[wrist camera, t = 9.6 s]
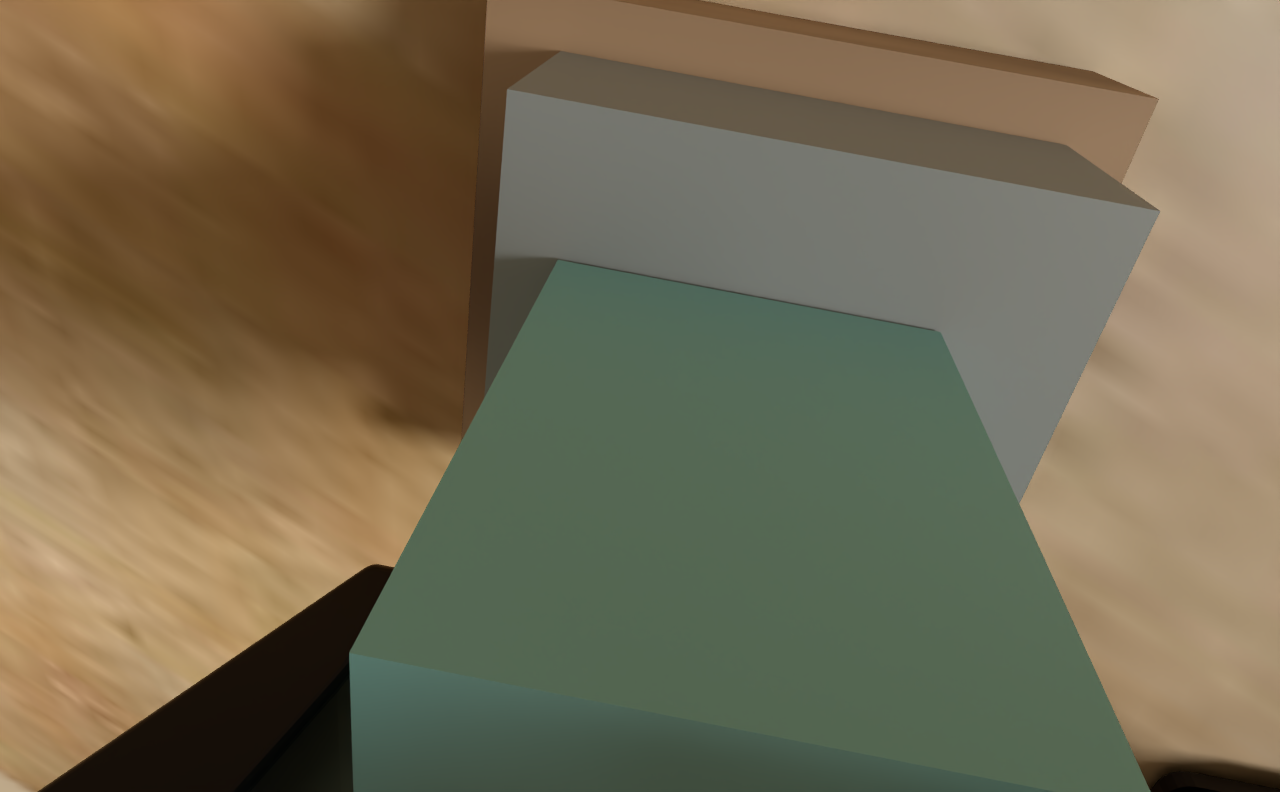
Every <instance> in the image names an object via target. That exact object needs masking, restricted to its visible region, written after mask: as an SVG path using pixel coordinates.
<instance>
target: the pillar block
mask: <svg viewBox="0 0 1280 792" xmlns="http://www.w3.org/2000/svg"><path fill="white" fill-rule="evenodd" d="M349 664H350V697H351V730H352V763H353V792H1150V789H1149V787H1148V785H1147V783H1146V781H1145V778H1144V776H1143V774H1142V772H1141V770H1140V767H1139V765H1138V763H1137V761H1136V759H1135V756H1134V754H1133V752H1132V750H1131V748H1130V746H1129V743H1128V741H1127V739H1126V737H1125V735H1124V732H1123V730H1122V728H1121V726H1120V724H1119V721H1118V719H1117V717H1116V715H1115V713H1114V710H1113V708H1112V706H1111V704H1110V702H1109V700H1108V697H1107V695H1106V693H1105V691H1104V689H1103V686H1102V684H1101V682H1100V680H1099V678H1098V675H1097V673H1096V671H1095V669H1094V667H1093V665H1092V662H1091V660H1090V658H1089V656H1088V654H1087V651H1086V649H1085V647H1084V645H1083V643H1082V640H1081V638H1080V636H1079V634H1078V632H1077V629H1076V627H1075V625H1074V623H1073V621H1072V619H1071V616H1070V614H1069V612H1068V610H1067V608H1066V605H1065V603H1064V601H1063V599H1062V597H1061V594H1060V592H1059V590H1058V588H1057V586H1056V584H1055V581H1054V579H1053V577H1052V575H1051V573H1050V570H1049V568H1048V566H1047V564H1046V562H1045V559H1044V557H1043V555H1042V553H1041V551H1040V548H1039V546H1038V544H1037V542H1036V540H1035V538H1034V535H1033V533H1032V531H1031V529H1030V527H1029V524H1028V522H1027V520H1026V518H1025V516H1024V513H1023V511H1022V509H1021V507H1020V505H1019V502H1018V500H1017V498H1016V496H1015V494H1014V492H1013V489H1012V487H1011V485H1010V483H1009V481H1008V478H1007V476H1006V474H1005V472H1004V470H1003V467H1002V465H1001V463H1000V461H999V459H998V457H997V454H996V452H995V450H994V448H993V446H992V443H991V441H990V439H989V437H988V435H987V432H986V430H985V428H984V426H983V424H982V421H981V419H980V417H979V415H978V413H977V411H976V408H975V406H974V404H973V402H972V400H971V397H970V395H969V393H968V391H967V389H966V386H965V384H964V382H963V380H962V378H961V375H960V373H959V371H958V369H957V367H956V365H955V362H954V360H953V358H952V356H951V354H950V351H949V349H948V347H947V345H946V343H945V340H944V338H943V336H942V334H941V332H937V331H932V330H927V329H921V328H916V327H911V326H906V325H900V324H895V323H890V322H884V321H879V320H874V319H869V318H863V317H858V316H853V315H848V314H842V313H837V312H832V311H826V310H821V309H816V308H811V307H805V306H800V305H795V304H789V303H784V302H779V301H774V300H768V299H763V298H758V297H752V296H747V295H742V294H737V293H731V292H726V291H721V290H715V289H710V288H705V287H700V286H694V285H689V284H684V283H678V282H673V281H668V280H663V279H657V278H652V277H647V276H641V275H636V274H631V273H626V272H620V271H615V270H610V269H604V268H599V267H594V266H589V265H583V264H578V263H573V262H567V261H562V260H557V262H556V264H555V266H554V268H553V270H552V272H551V273H550V275H549V277H548V279H547V281H546V283H545V285H544V287H543V289H542V290H541V292H540V294H539V296H538V298H537V300H536V302H535V304H534V306H533V307H532V309H531V311H530V313H529V315H528V317H527V319H526V321H525V322H524V324H523V326H522V328H521V330H520V332H519V334H518V336H517V338H516V339H515V341H514V343H513V345H512V347H511V349H510V351H509V353H508V355H507V356H506V358H505V360H504V362H503V364H502V366H501V368H500V370H499V371H498V373H497V375H496V377H495V379H494V381H493V383H492V385H491V387H490V388H489V390H488V392H487V394H486V396H485V398H484V400H483V402H482V404H481V405H480V407H479V409H478V411H477V413H476V415H475V417H474V419H473V420H472V422H471V424H470V426H469V428H468V430H467V432H466V434H465V436H464V437H463V439H462V441H461V443H460V445H459V447H458V449H457V451H456V453H455V454H454V456H453V458H452V460H451V462H450V464H449V466H448V468H447V469H446V471H445V473H444V475H443V477H442V479H441V481H440V483H439V485H438V486H437V488H436V490H435V492H434V494H433V496H432V498H431V500H430V502H429V503H428V505H427V507H426V509H425V511H424V513H423V515H422V517H421V518H420V520H419V522H418V524H417V526H416V528H415V530H414V532H413V534H412V535H411V537H410V539H409V541H408V543H407V545H406V547H405V549H404V551H403V552H402V554H401V556H400V558H399V560H398V562H397V564H396V566H395V567H394V569H393V571H392V573H391V575H390V577H389V579H388V581H387V583H386V584H385V586H384V588H383V590H382V592H381V594H380V596H379V598H378V600H377V601H376V603H375V605H374V607H373V609H372V611H371V613H370V615H369V616H368V618H367V620H366V622H365V624H364V626H363V628H362V630H361V632H360V633H359V635H358V637H357V639H356V641H355V643H354V645H353V647H352V649H351V650H350V652H349Z"/></svg>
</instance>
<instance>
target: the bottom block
mask: <svg viewBox="0 0 1280 792" xmlns="http://www.w3.org/2000/svg"><path fill="white" fill-rule="evenodd" d="M560 51H564V52H569V53H574V54H580V55H585V56H591V57H596V58H601V59H607V60H612V61H617V62H623V63H628V64H634V65H639V66H644V67H650V68H655V69H660V70H666V71H671V72H677V73H682V74H687V75H693V76H698V77H703V78H709V79H714V80H720V81H725V82H730V83H736V84H741V85H746V86H752V87H757V88H763V89H768V90H773V91H779V92H784V93H789V94H795V95H800V96H806V97H811V98H816V99H822V100H827V101H833V102H838V103H843V104H849V105H854V106H859V107H865V108H870V109H876V110H881V111H886V112H892V113H897V114H902V115H908V116H913V117H919V118H924V119H929V120H935V121H940V122H945V123H951V124H956V125H962V126H967V127H972V128H978V129H983V130H988V131H994V132H999V133H1005V134H1010V135H1015V136H1021V137H1026V138H1031V139H1037V140H1042V141H1048V142H1053V143H1058V144H1064V145H1067V146H1069V147H1070V148H1071V149H1073V150H1074V151H1076V152H1077V153H1078V154H1080V155H1081V156H1083V157H1084V158H1086V159H1087V160H1088V161H1090V162H1091V163H1093V164H1094V165H1095V166H1097V167H1098V168H1100V169H1101V170H1103V171H1104V172H1105V173H1107V174H1108V175H1110V176H1111V177H1112V178H1114V179H1115V180H1117V181H1118V182H1120V183H1122V181H1123V179H1124V176H1125V174H1126V172H1127V170H1128V167H1129V165H1130V163H1131V161H1132V158H1133V156H1134V154H1135V152H1136V149H1137V147H1138V145H1139V143H1140V140H1141V138H1142V136H1143V134H1144V131H1145V129H1146V127H1147V125H1148V122H1149V120H1150V118H1151V116H1152V113H1153V111H1154V109H1155V107H1156V104H1157V102H1158V100H1159V99H1157V98H1155V97H1153V96H1150V95H1148V94H1145V93H1143V92H1141V91H1138V90H1136V89H1133V88H1131V87H1129V86H1126V85H1124V84H1122V83H1119V82H1117V81H1114V80H1112V79H1110V78H1107V77H1105V76H1102V75H1100V74H1098V73H1095V72H1093V71H1088V70H1082V69H1076V68H1071V67H1065V66H1060V65H1054V64H1049V63H1043V62H1038V61H1032V60H1027V59H1021V58H1016V57H1010V56H1005V55H999V54H994V53H988V52H982V51H977V50H971V49H966V48H960V47H955V46H949V45H944V44H938V43H933V42H927V41H922V40H916V39H911V38H905V37H899V36H894V35H888V34H883V33H877V32H872V31H866V30H861V29H855V28H850V27H844V26H839V25H833V24H828V23H822V22H816V21H811V20H805V19H800V18H794V17H789V16H783V15H778V14H772V13H767V12H761V11H756V10H750V9H745V8H739V7H733V6H728V5H722V4H717V3H711V2H706V1H700V0H487V12H486V29H485V47H484V64H483V81H482V98H481V115H480V132H479V149H478V166H477V183H476V200H475V217H474V235H473V252H472V269H471V286H470V303H469V320H468V337H467V354H466V371H465V388H464V406H463V423H462V439H463V437H464V436H465V434H466V432H467V430H468V428H469V426H470V424H471V422H472V420H473V419H474V417H475V415H476V413H477V411H478V409H479V407H480V405H481V404H482V402H483V400H484V393H485V380H486V366H487V353H488V340H489V326H490V313H491V299H492V286H493V272H494V259H495V246H496V232H497V219H498V205H499V192H500V179H501V165H502V152H503V138H504V125H505V111H506V98H507V89H508V88H509V87H511V86H512V85H514V84H515V83H516V82H518V81H519V80H521V79H522V78H523V77H525V76H526V75H528V74H529V73H530V72H532V71H533V70H535V69H536V68H538V67H539V66H540V65H542V64H543V63H545V62H546V61H547V60H549V59H550V58H552V57H553V56H554V55H556V54H557V53H559V52H560ZM461 441H462V440H461Z"/></svg>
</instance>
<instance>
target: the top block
mask: <svg viewBox="0 0 1280 792" xmlns="http://www.w3.org/2000/svg"><path fill="white" fill-rule="evenodd" d="M1159 213H1160V211H1159V210H1158V209H1156V208H1155V207H1154V206H1152V205H1151V204H1149V203H1148V202H1146V201H1145V200H1144V199H1142V198H1141V197H1139V196H1138V195H1137V194H1135V193H1134V192H1132V191H1131V190H1129V189H1128V188H1127V187H1125V186H1124V185H1122V184H1121V183H1120V182H1118V181H1117V180H1115V179H1114V178H1112V177H1111V176H1110V175H1108V174H1107V173H1105V172H1104V171H1103V170H1101V169H1100V168H1098V167H1097V166H1095V165H1094V164H1093V163H1091V162H1090V161H1088V160H1087V159H1086V158H1084V157H1083V156H1081V155H1080V154H1078V153H1077V152H1076V151H1074V150H1073V149H1071V148H1070V147H1069V146H1067V145H1064V144H1058V143H1053V142H1048V141H1042V140H1037V139H1031V138H1026V137H1021V136H1015V135H1010V134H1005V133H999V132H994V131H988V130H983V129H978V128H972V127H967V126H962V125H956V124H951V123H945V122H940V121H935V120H929V119H924V118H919V117H913V116H908V115H902V114H897V113H892V112H886V111H881V110H876V109H870V108H865V107H859V106H854V105H849V104H843V103H838V102H833V101H827V100H822V99H816V98H811V97H806V96H800V95H795V94H789V93H784V92H779V91H773V90H768V89H763V88H757V87H752V86H746V85H741V84H736V83H730V82H725V81H720V80H714V79H709V78H703V77H698V76H693V75H687V74H682V73H677V72H671V71H666V70H660V69H655V68H650V67H644V66H639V65H634V64H628V63H623V62H617V61H612V60H607V59H601V58H596V57H591V56H585V55H580V54H574V53H569V52H564V51H560V52H559V53H557V54H556V55H554V56H553V57H552V58H550V59H549V60H547V61H546V62H545V63H543V64H542V65H540V66H539V67H538V68H536V69H535V70H533V71H532V72H530V73H529V74H528V75H526V76H525V77H523V78H522V79H521V80H519V81H518V82H516V83H515V84H514V85H512V86H511V87H509V88H508V89H507V98H506V111H505V125H504V138H503V152H502V165H501V179H500V192H499V205H498V219H497V232H496V246H495V259H494V272H493V286H492V299H491V313H490V326H489V340H488V353H487V366H486V380H485V393H484V398H485V396H486V394H487V392H488V390H489V388H490V387H491V385H492V383H493V381H494V379H495V377H496V375H497V373H498V371H499V370H500V368H501V366H502V364H503V362H504V360H505V358H506V356H507V355H508V353H509V351H510V349H511V347H512V345H513V343H514V341H515V339H516V338H517V336H518V334H519V332H520V330H521V328H522V326H523V324H524V322H525V321H526V319H527V317H528V315H529V313H530V311H531V309H532V307H533V306H534V304H535V302H536V300H537V298H538V296H539V294H540V292H541V290H542V289H543V287H544V285H545V283H546V281H547V279H548V277H549V275H550V273H551V272H552V270H553V268H554V266H555V264H556V262H557V260H562V261H567V262H573V263H578V264H583V265H589V266H594V267H599V268H604V269H610V270H615V271H620V272H626V273H631V274H636V275H641V276H647V277H652V278H657V279H663V280H668V281H673V282H678V283H684V284H689V285H694V286H700V287H705V288H710V289H715V290H721V291H726V292H731V293H737V294H742V295H747V296H752V297H758V298H763V299H768V300H774V301H779V302H784V303H789V304H795V305H800V306H805V307H811V308H816V309H821V310H826V311H832V312H837V313H842V314H848V315H853V316H858V317H863V318H869V319H874V320H879V321H884V322H890V323H895V324H900V325H906V326H911V327H916V328H921V329H927V330H932V331H937V332H941V334H942V336H943V338H944V340H945V343H946V345H947V347H948V349H949V351H950V354H951V356H952V358H953V360H954V362H955V365H956V367H957V369H958V371H959V373H960V375H961V378H962V380H963V382H964V384H965V386H966V389H967V391H968V393H969V395H970V397H971V400H972V402H973V404H974V406H975V408H976V411H977V413H978V415H979V417H980V419H981V421H982V424H983V426H984V428H985V430H986V432H987V435H988V437H989V439H990V441H991V443H992V446H993V448H994V450H995V452H996V454H997V457H998V459H999V461H1000V463H1001V465H1002V467H1003V470H1004V472H1005V474H1006V476H1007V478H1008V481H1009V483H1010V485H1011V487H1012V489H1013V492H1014V494H1015V496H1016V498H1017V500H1018V502H1019V503H1020V501H1021V499H1022V497H1023V495H1024V493H1025V491H1026V488H1027V486H1028V484H1029V482H1030V480H1031V478H1032V476H1033V474H1034V472H1035V470H1036V468H1037V466H1038V464H1039V462H1040V459H1041V457H1042V455H1043V453H1044V451H1045V449H1046V447H1047V445H1048V443H1049V441H1050V439H1051V437H1052V435H1053V432H1054V430H1055V428H1056V426H1057V424H1058V422H1059V420H1060V418H1061V416H1062V414H1063V412H1064V410H1065V408H1066V405H1067V403H1068V401H1069V399H1070V397H1071V395H1072V393H1073V391H1074V389H1075V387H1076V385H1077V383H1078V381H1079V379H1080V376H1081V374H1082V372H1083V370H1084V368H1085V366H1086V364H1087V362H1088V360H1089V358H1090V356H1091V354H1092V352H1093V349H1094V347H1095V345H1096V343H1097V341H1098V339H1099V337H1100V335H1101V333H1102V331H1103V329H1104V327H1105V325H1106V323H1107V320H1108V318H1109V316H1110V314H1111V312H1112V310H1113V308H1114V306H1115V304H1116V302H1117V300H1118V298H1119V296H1120V293H1121V291H1122V289H1123V287H1124V285H1125V283H1126V281H1127V279H1128V277H1129V275H1130V273H1131V271H1132V269H1133V266H1134V264H1135V262H1136V260H1137V258H1138V256H1139V254H1140V252H1141V250H1142V248H1143V246H1144V244H1145V242H1146V240H1147V237H1148V235H1149V233H1150V231H1151V229H1152V227H1153V225H1154V223H1155V221H1156V219H1157V217H1158V215H1159Z"/></svg>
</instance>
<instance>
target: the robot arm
mask: <svg viewBox="0 0 1280 792" xmlns="http://www.w3.org/2000/svg"><path fill="white" fill-rule="evenodd" d="M393 569H394V567H389V566H384V565H379V564H374V565H370V566H368V567H366V568H364V569H363V570H361V571H360V572H358V573H357V574H355V575H354V576H352V577H351V578H349V579H348V580H346V581H345V582H344V583H342V584H341V585H339V586H338V587H336V588H335V589H333V590H332V591H330V592H329V593H327V594H326V595H325V596H323V597H322V598H320V599H319V600H317V601H316V602H314V603H313V604H311V605H310V606H308V607H307V608H306V609H304V610H303V611H301V612H300V613H298V614H297V615H295V616H294V617H292V618H291V619H289V620H288V621H287V622H285V623H284V624H282V625H281V626H279V627H278V628H276V629H275V630H273V631H272V632H270V633H269V634H267V635H266V636H265V637H263V638H262V639H260V640H259V641H257V642H256V643H254V644H253V645H251V646H250V647H248V648H247V649H246V650H244V651H243V652H241V653H240V654H238V655H237V656H235V657H234V658H232V659H231V660H229V661H228V662H227V663H225V664H224V665H222V666H221V667H219V668H218V669H216V670H215V671H213V672H212V673H210V674H209V675H208V676H206V677H205V678H203V679H202V680H200V681H199V682H197V683H196V684H194V685H193V686H191V687H190V688H189V689H187V690H186V691H184V692H183V693H181V694H180V695H178V696H177V697H175V698H174V699H172V700H171V701H170V702H168V703H167V704H165V705H164V706H162V707H161V708H159V709H158V710H156V711H155V712H153V713H152V714H151V715H149V716H148V717H146V718H145V719H143V720H142V721H140V722H139V723H137V724H136V725H134V726H133V727H131V728H130V729H129V730H127V731H126V732H124V733H123V734H121V735H120V736H118V737H117V738H115V739H114V740H112V741H111V742H110V743H108V744H107V745H105V746H104V747H102V748H101V749H99V750H98V751H96V752H95V753H93V754H92V755H91V756H89V757H88V758H86V759H85V760H83V761H82V762H80V763H79V764H77V765H76V766H74V767H73V768H72V769H70V770H69V771H67V772H66V773H64V774H63V775H61V776H60V777H58V778H57V779H55V780H54V781H53V782H51V783H50V784H48V785H47V786H45V787H44V788H42V789H41V790H39V791H38V792H353V763H352V730H351V697H350V664H349V652H350V650H351V649H352V647H353V645H354V643H355V641H356V639H357V637H358V635H359V633H360V632H361V630H362V628H363V626H364V624H365V622H366V620H367V618H368V616H369V615H370V613H371V611H372V609H373V607H374V605H375V603H376V601H377V600H378V598H379V596H380V594H381V592H382V590H383V588H384V586H385V584H386V583H387V581H388V579H389V577H390V575H391V573H392V571H393ZM1150 792H1280V790H1279V789H1274V788H1269V787H1264V786H1259V785H1253V784H1248V783H1243V782H1238V781H1233V780H1228V779H1223V778H1217V777H1212V776H1207V775H1202V774H1197V773H1192V772H1182V771H1179V772H1173V773H1170V774H1167V775H1165V776H1163V777H1162V778H1161V779H1160V780H1159V781H1158V782H1157V783H1156V784H1155V786H1154V787H1153V789H1152V790H1151V791H1150Z"/></svg>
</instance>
